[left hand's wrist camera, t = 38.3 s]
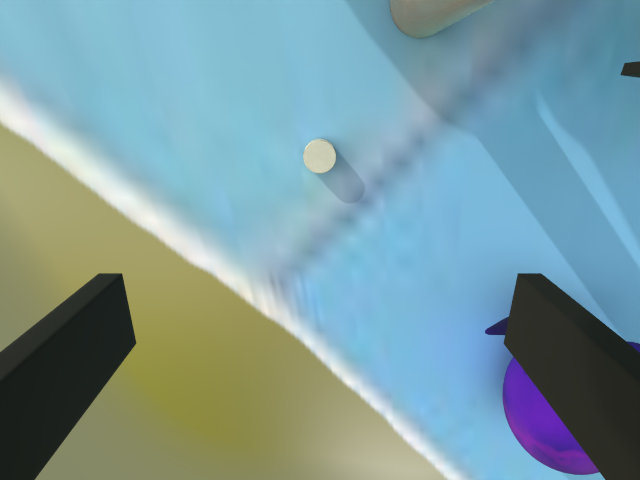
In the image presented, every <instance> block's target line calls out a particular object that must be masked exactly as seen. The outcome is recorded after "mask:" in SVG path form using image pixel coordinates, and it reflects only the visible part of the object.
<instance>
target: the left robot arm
mask: <svg viewBox="0 0 640 480" xmlns="http://www.w3.org/2000/svg"><path fill="white" fill-rule="evenodd" d="M135 344H136V340H135V335H134V330H133V325H132V320H131V315H130V310H129V305H128V301H127V296H126V291H125V286H124V281H123V276H122V274H98V275H96V276H95V277H94V278H93V279H91V280H90V281H89V282H88V283H86V284H85V285H84V286H83V287H81V288H80V289H79V290H78V291H76V292H75V293H74V294H73V295H71V296H70V297H69V298H68V299H66V300H65V301H64V302H63V303H61V304H60V305H59V306H58V307H56V308H55V309H54V310H53V311H51V312H50V313H49V314H48V315H46V316H45V317H44V318H43V319H41V320H40V321H39V322H38V323H36V324H35V325H34V326H33V327H31V328H30V329H29V330H28V331H26V332H25V333H24V334H23V335H21V336H20V337H19V338H18V339H16V340H15V341H14V342H13V343H11V344H10V345H9V346H8V347H6V348H5V349H4V350H3V351H1V352H0V480H35V478H36V477H37V476H38V474H39V473H40V472H41V470H42V469H43V468H44V466H45V465H46V464H47V462H48V461H49V460H50V458H51V457H52V456H53V454H54V453H55V452H56V450H57V449H58V448H59V446H60V445H61V444H62V442H63V441H64V440H65V438H66V437H67V436H68V434H69V433H70V431H71V430H72V429H73V427H74V426H75V425H76V423H77V422H78V421H79V419H80V418H81V417H82V415H83V414H84V413H85V411H86V410H87V409H88V407H89V406H90V405H91V403H92V402H93V401H94V399H95V398H96V397H97V395H98V394H99V393H100V391H101V390H102V389H103V387H104V386H105V385H106V383H107V382H108V381H109V379H110V378H111V377H112V375H113V374H114V372H115V371H116V370H117V368H118V367H119V366H120V364H121V363H122V362H123V360H124V359H125V358H126V356H127V355H128V354H129V352H130V351H131V350H132V348H133V347H134V346H135ZM504 344H505V346H506V347H507V348H508V350H509V351H510V352H511V354H512V355H513V356H514V358H515V359H516V360H517V362H518V363H519V364H520V366H521V367H522V369H523V370H524V371H525V373H526V374H527V375H528V377H529V378H530V379H531V381H532V382H533V383H534V385H535V386H536V387H537V389H538V390H539V391H540V393H541V394H542V395H543V397H544V398H545V399H546V401H547V402H548V403H549V405H550V406H551V407H552V409H553V410H554V411H555V413H556V414H557V415H558V417H559V418H560V419H561V421H562V422H563V423H564V425H565V426H566V427H567V429H568V430H569V431H570V433H571V434H572V436H573V437H574V438H575V440H576V441H577V442H578V444H579V445H580V446H581V448H582V449H583V450H584V452H585V453H586V454H587V456H588V457H589V458H590V460H591V461H592V462H593V464H594V465H595V466H596V468H597V469H598V470H599V472H600V473H601V474H602V476H603V477H604V478H605V480H640V352H639V351H637V350H636V349H635V348H634V347H632V346H631V345H630V344H629V343H627V342H626V341H625V340H624V339H622V338H621V337H620V336H619V335H617V334H616V333H615V332H614V331H612V330H611V329H610V328H609V327H607V326H606V325H605V324H604V323H602V322H601V321H600V320H599V319H597V318H596V317H595V316H594V315H592V314H591V313H590V312H589V311H587V310H586V309H585V308H584V307H582V306H581V305H580V304H579V303H577V302H576V301H575V300H574V299H572V298H571V297H570V296H569V295H567V294H566V293H565V292H564V291H562V290H561V289H560V288H559V287H557V286H556V285H555V284H554V283H552V282H551V281H550V280H549V279H547V278H546V277H545V276H544V275H542V274H518V276H517V281H516V286H515V291H514V295H513V300H512V305H511V310H510V315H509V320H508V325H507V330H506V335H505V340H504Z"/></svg>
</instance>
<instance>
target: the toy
mask: <svg viewBox="0 0 640 480" xmlns="http://www.w3.org/2000/svg"><path fill="white" fill-rule="evenodd" d="M508 320H509V317H507V318H505V319H503V320H501V321H500V322H498V323H496V324H494V325H493V326H491V327H489V328H487V329H486V331H485V333H486V334H488V335H506V330H507V325H508ZM627 343H629V344H630V345H631V346H632V347H634V348H635V349H636V350H637V351H639V352H640V344H639V343H635V342H627ZM503 405H504V411H505V415H506V418H507V421H508V424H509V426H510V428H511V430H512V432H513V434H514V436H515V437H516V439H517V440H518V441H519V443H520V444H521V445H522V447H523V448H524V449H525V450H526V451H527V452H528V453H529V454H530V455H531V456H532V457H534V458H535V459H536V460H538V461H539V462H541V463H543V464H544V465H546V466H548V467H550V468H552V469H555V470H557V471H561V472H564V473H569V474H575V475H588V474H594V473H598V472H599V470H598V469H597V468H596V466H595V465H594V464H593V462H592V461H591V460H590V458H589V457H588V456H587V454H586V453H585V452H584V450H583V449H582V448H581V446H580V445H579V444H578V442H577V441H576V440H575V438H574V437H573V436H572V434H571V433H570V431H569V430H568V429H567V427H566V426H565V425H564V423H563V422H562V421H561V419H560V418H559V417H558V415H557V414H556V413H555V411H554V410H553V409H552V407H551V406H550V405H549V403H548V402H547V401H546V399H545V398H544V397H543V395H542V394H541V393H540V391H539V390H538V389H537V387H536V386H535V385H534V383H533V382H532V381H531V379H530V378H529V377H528V375H527V374H526V373H525V371H524V370H523V369H522V367H521V366H520V364H519V363H518V362H517V360H516V359H515V358H514V357H513V358H512V360H511V362H510V363H509V366H508V368H507V370H506V374H505V378H504V384H503Z"/></svg>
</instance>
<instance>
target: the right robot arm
mask: <svg viewBox="0 0 640 480" xmlns="http://www.w3.org/2000/svg"><path fill="white" fill-rule="evenodd" d="M621 75H624V76H632V77H639V78H640V62H631V63H625V64H624V67H623V69H622V72H621Z"/></svg>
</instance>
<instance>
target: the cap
mask: <svg viewBox="0 0 640 480" xmlns="http://www.w3.org/2000/svg"><path fill="white" fill-rule="evenodd" d="M303 154H304V162H305V164H306V166H307V167H308V169H310V170H311V171H313V172H315V173H325V172H327V171H329V170H330V169H331V168H332V167H333V166H334V164H335V161H336V153H335V149H334V147H333V146H332V144H331V143H330V142H328V141H327V140H324V139H315V140H313V141H311V142H310V143H309V144H308V145H307V146H306V148H305V151H304V153H303Z"/></svg>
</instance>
